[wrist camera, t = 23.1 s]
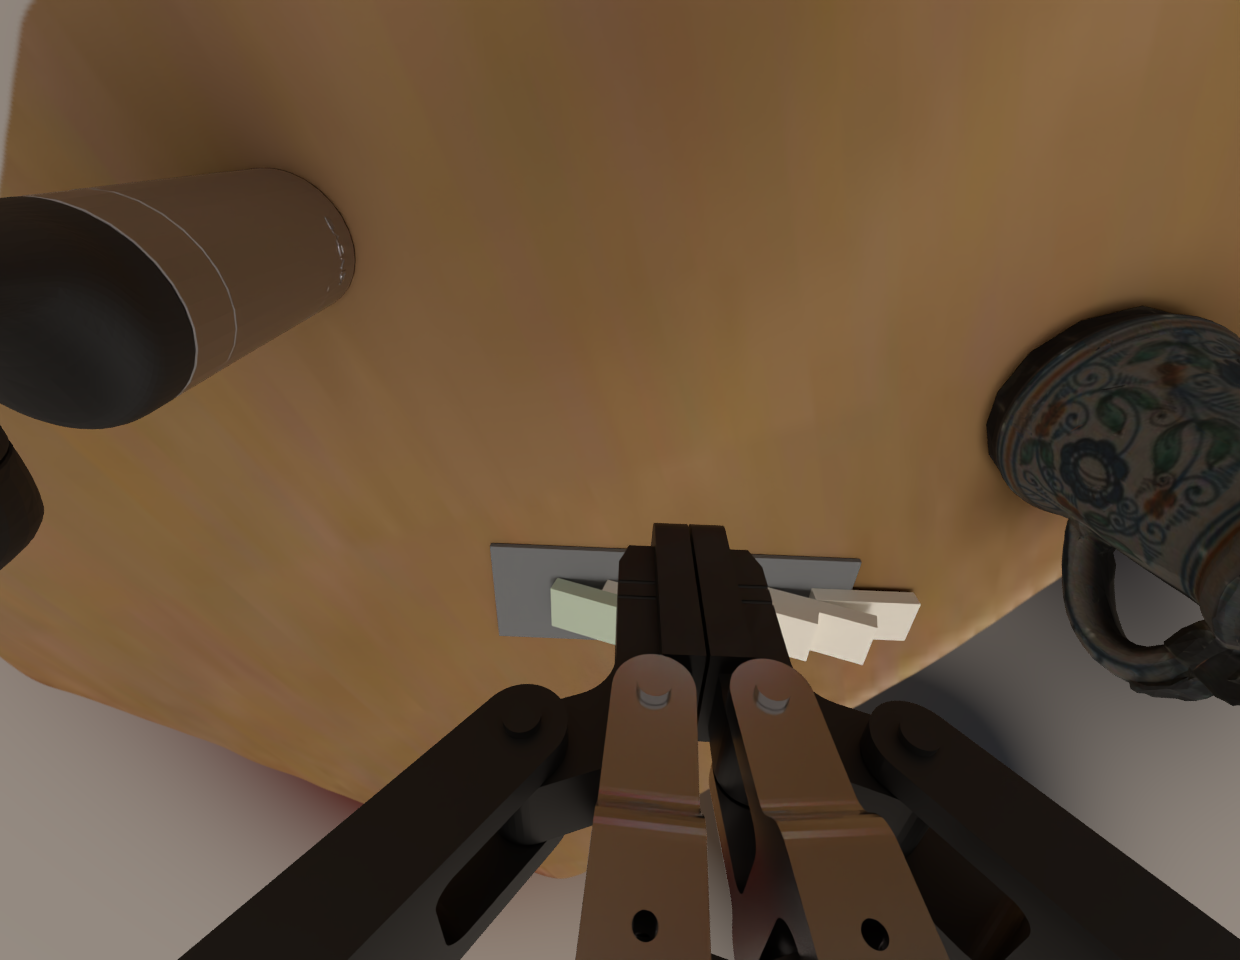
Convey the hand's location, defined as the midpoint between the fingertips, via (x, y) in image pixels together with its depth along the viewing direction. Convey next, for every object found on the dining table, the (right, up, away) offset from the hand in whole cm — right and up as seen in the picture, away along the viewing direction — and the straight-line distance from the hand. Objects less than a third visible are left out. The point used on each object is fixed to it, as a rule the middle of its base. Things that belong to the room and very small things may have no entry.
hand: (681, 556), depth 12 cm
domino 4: (+17, -11, +43) cm, 48 cm away
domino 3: (+13, -11, +43) cm, 46 cm away
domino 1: (-8, -10, +43) cm, 45 cm away
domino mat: (+4, -10, +44) cm, 45 cm away
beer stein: (+36, +6, +33) cm, 50 cm away
